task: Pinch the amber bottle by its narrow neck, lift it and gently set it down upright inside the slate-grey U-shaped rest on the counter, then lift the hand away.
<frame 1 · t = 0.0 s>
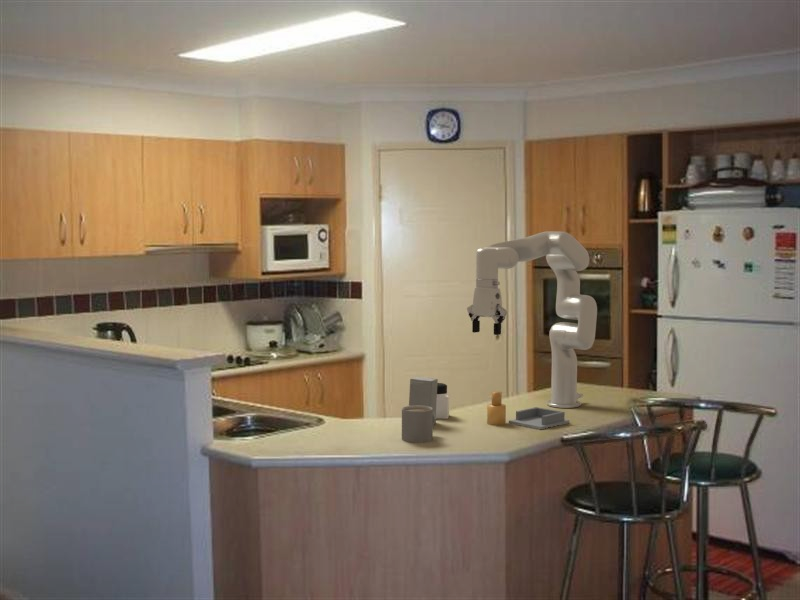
hand: (486, 333, 346), 31 cm above the worktop, tool pointing down, fingers open, 9 cm apart
u rest: (539, 423, 347), on the worktop
medicine bottle: (438, 417, 358), on the worktop
skincare box: (422, 423, 347), on the worktop
coffee mug: (421, 438, 324), on the worktop
amber bottle: (496, 423, 347), on the worktop
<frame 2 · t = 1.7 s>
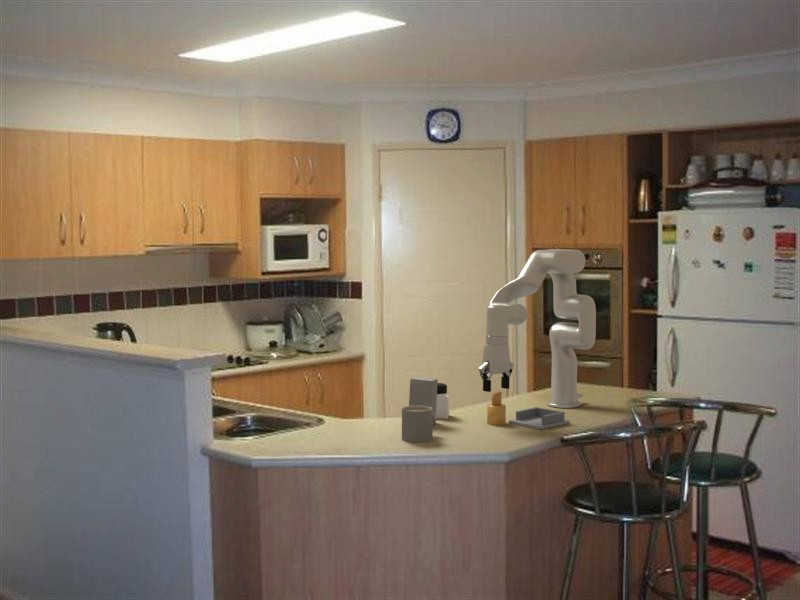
hand: (496, 389, 346), 12 cm above the worktop, tool pointing down, fingers open, 9 cm apart
nothing on the worktop moved.
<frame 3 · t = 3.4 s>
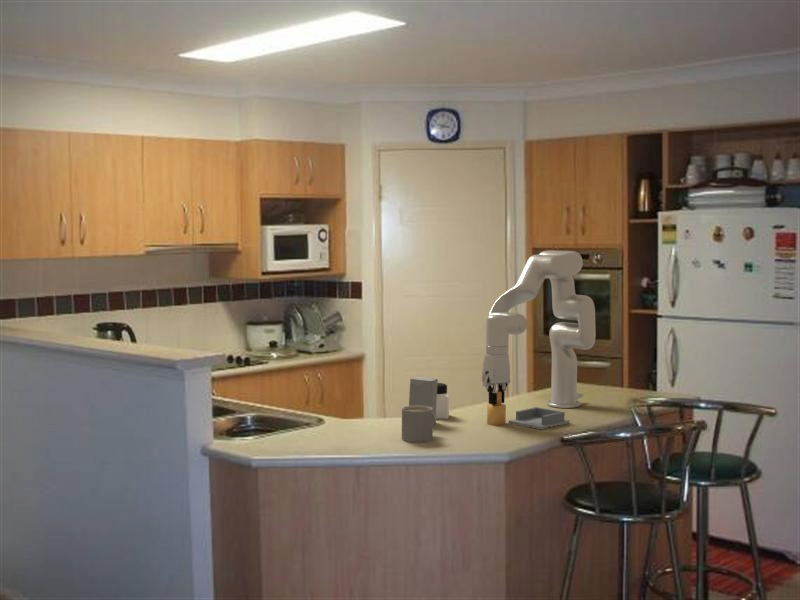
hand: (496, 402, 346), 7 cm above the worktop, tool pointing down, fingers closed on amber bottle, 3 cm apart
amber bottle: (496, 423, 347), on the worktop, touching gripper
everything else where it was.
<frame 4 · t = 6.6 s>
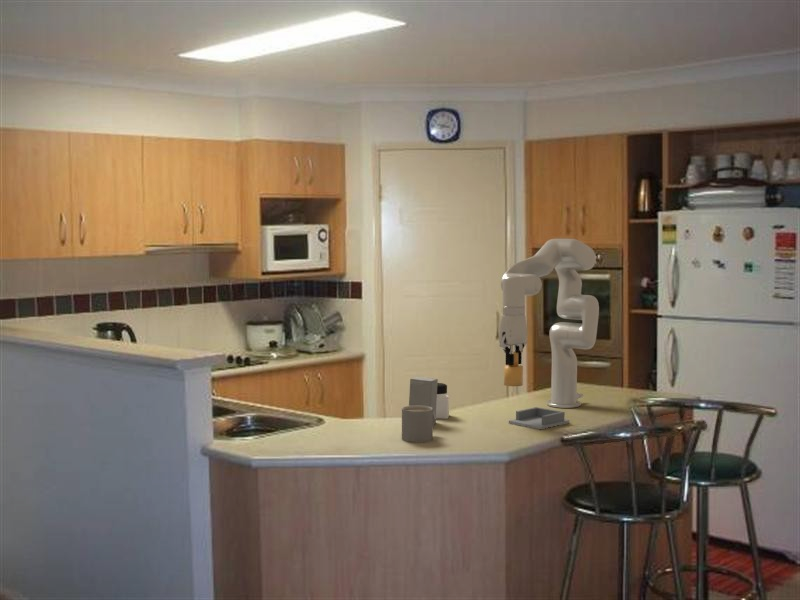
hand: (513, 363, 345), 21 cm above the worktop, tool pointing down, fingers closed on amber bottle, 3 cm apart
amber bottle: (513, 384, 346), point 14 cm above the worktop, touching gripper
everything else where it was.
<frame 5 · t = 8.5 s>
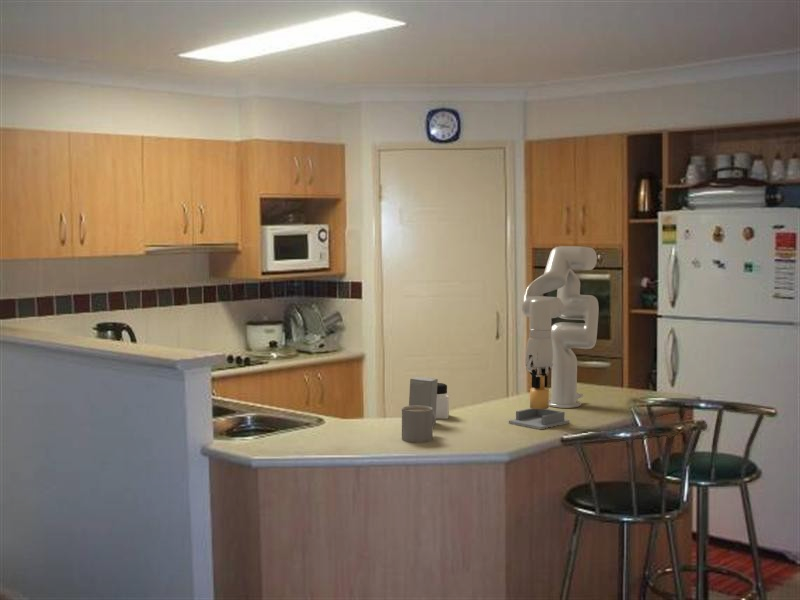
hand: (539, 386, 346), 13 cm above the worktop, tool pointing down, fingers closed on amber bottle, 3 cm apart
amber bottle: (539, 407, 347), point 6 cm above the worktop, touching gripper
everything else where it was.
when the fingers open (9 cm above the worktop, at t = 9.9 s): amber bottle stays where it is, resting on u rest.
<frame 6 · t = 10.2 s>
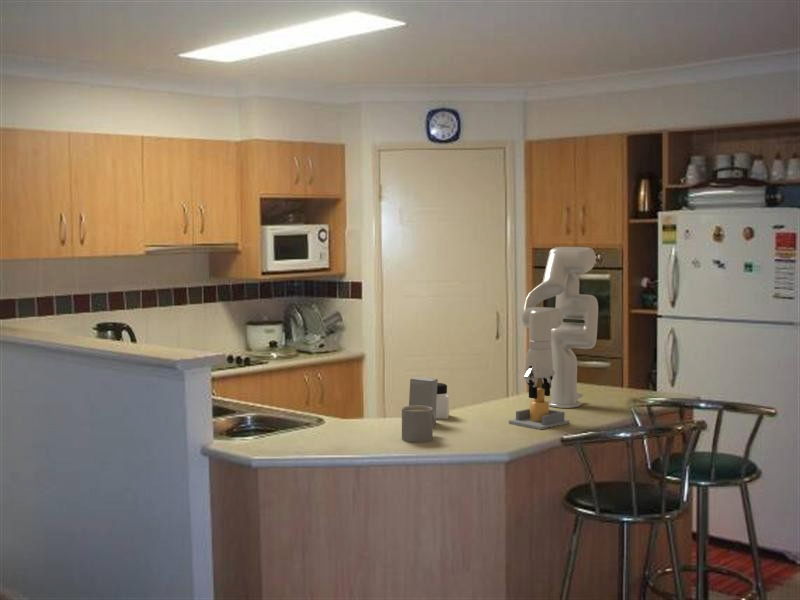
hand: (539, 396, 346), 9 cm above the worktop, tool pointing down, fingers open, 6 cm apart
amber bottle: (539, 420, 347), point 1 cm above the worktop, touching u rest
everything else where it was.
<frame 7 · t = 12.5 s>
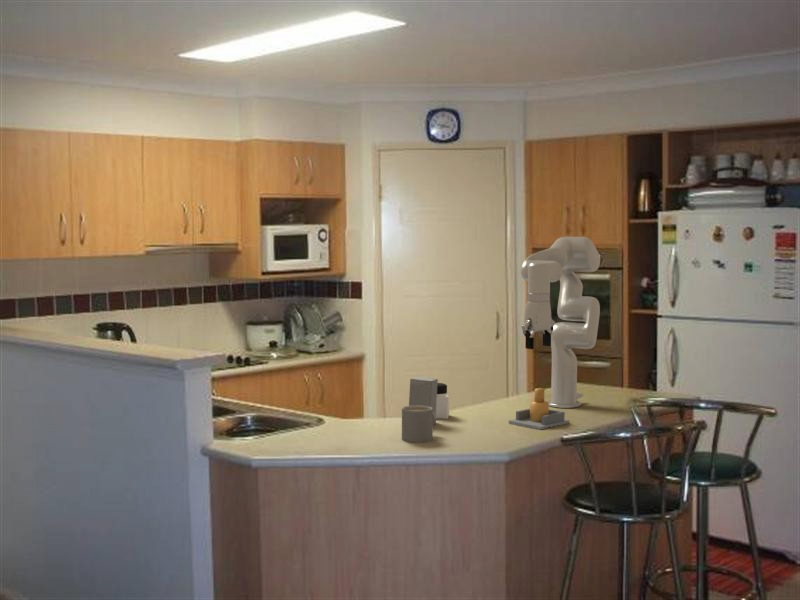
hand: (538, 347, 347), 26 cm above the worktop, tool pointing down, fingers open, 9 cm apart
nothing on the worktop moved.
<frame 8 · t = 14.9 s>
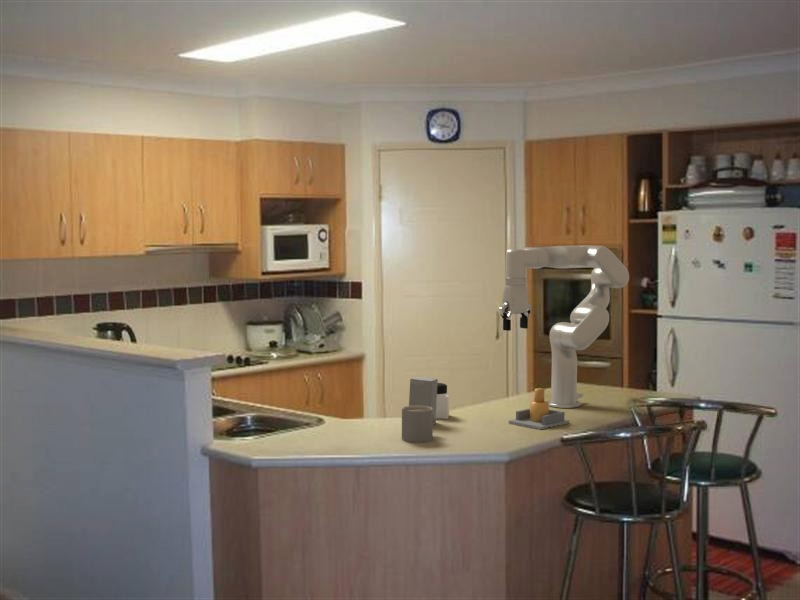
hand: (515, 329, 367), 30 cm above the worktop, tool pointing down, fingers open, 9 cm apart
nothing on the worktop moved.
at the end: amber bottle 0.1 cm off-centre on the u rest, point 1.0 cm above the u rest's base; amber bottle tilted 0°; the gripper is holding nothing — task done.
